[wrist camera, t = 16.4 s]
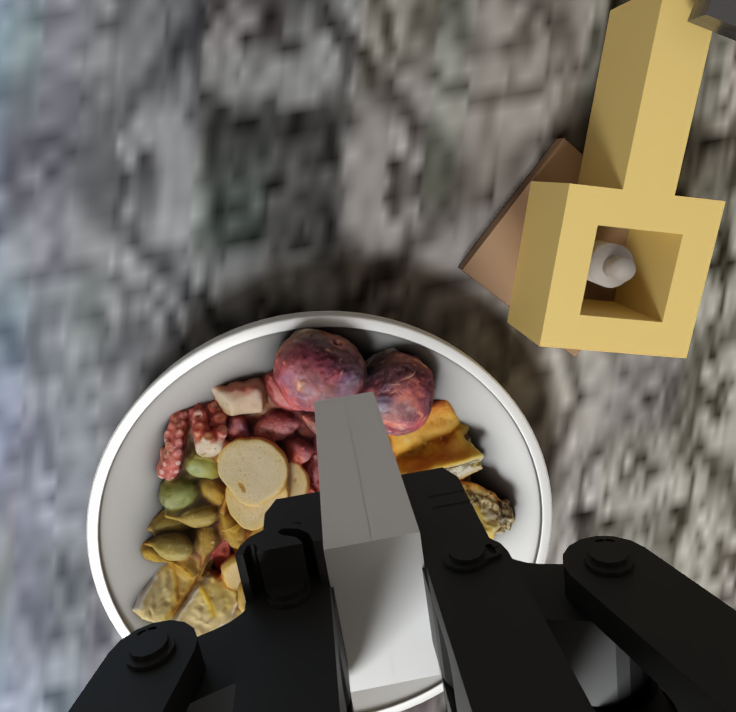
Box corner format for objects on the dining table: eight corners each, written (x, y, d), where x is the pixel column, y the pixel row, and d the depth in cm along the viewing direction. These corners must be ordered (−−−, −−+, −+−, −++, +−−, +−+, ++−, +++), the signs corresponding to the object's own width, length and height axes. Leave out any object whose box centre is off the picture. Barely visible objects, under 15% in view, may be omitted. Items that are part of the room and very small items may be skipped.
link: (635, 333, 44) (686, 358, 38) (507, 322, 43) (539, 346, 37) (704, 25, 39) (775, 0, 33) (561, 3, 37) (608, -27, 32)
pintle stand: (556, 138, 41) (621, 131, 33) (665, 234, 43) (750, 249, 35) (457, 267, 42) (496, 291, 34) (567, 351, 45) (628, 393, 37)
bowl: (523, 652, 52) (561, 734, 45) (142, 697, 50) (114, 791, 42) (532, 284, 44) (581, 308, 36) (72, 315, 41) (22, 348, 34)
